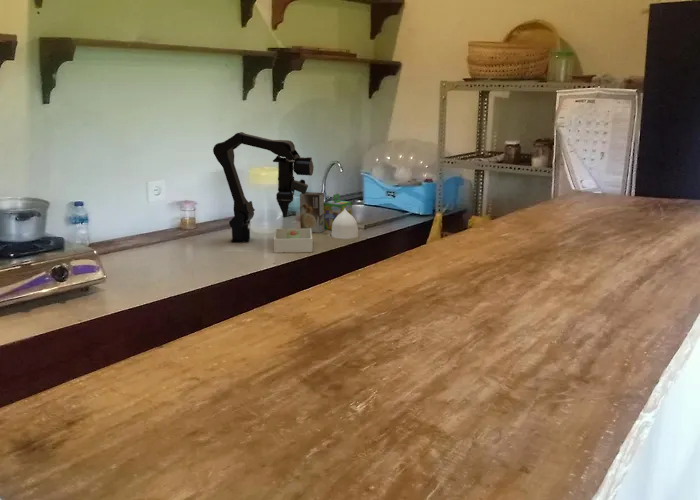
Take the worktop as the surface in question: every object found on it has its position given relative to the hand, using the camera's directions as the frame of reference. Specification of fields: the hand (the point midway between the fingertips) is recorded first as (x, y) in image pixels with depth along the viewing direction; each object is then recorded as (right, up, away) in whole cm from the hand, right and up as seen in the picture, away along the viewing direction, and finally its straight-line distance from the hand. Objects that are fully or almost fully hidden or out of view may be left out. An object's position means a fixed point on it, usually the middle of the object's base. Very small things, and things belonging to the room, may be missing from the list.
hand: (285, 214), depth 264 cm
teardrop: (+23, -8, +16) cm, 29 cm away
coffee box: (+9, -6, +24) cm, 27 cm away
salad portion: (+3, -12, -2) cm, 13 cm away
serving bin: (+3, -13, -2) cm, 13 cm away
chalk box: (+20, -5, +29) cm, 36 cm away
